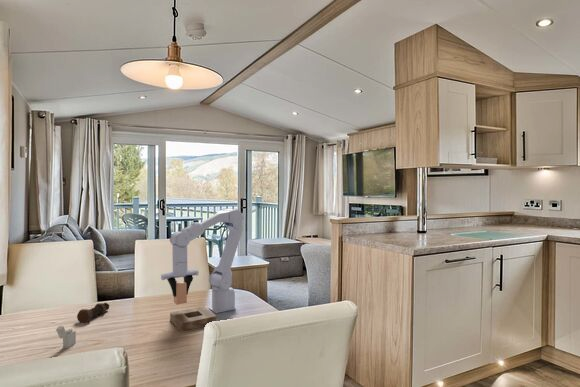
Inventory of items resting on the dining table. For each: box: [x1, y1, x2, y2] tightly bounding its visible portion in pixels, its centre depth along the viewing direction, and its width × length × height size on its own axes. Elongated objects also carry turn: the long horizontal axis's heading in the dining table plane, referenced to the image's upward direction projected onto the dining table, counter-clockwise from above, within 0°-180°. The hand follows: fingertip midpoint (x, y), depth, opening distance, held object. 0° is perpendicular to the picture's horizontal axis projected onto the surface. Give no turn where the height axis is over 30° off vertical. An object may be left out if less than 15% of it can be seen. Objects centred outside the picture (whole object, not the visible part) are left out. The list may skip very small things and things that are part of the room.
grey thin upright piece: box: [55, 325, 77, 349], centre depth 123 cm, size 7×2×8 cm, turn 173°
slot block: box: [169, 306, 218, 332], centre depth 146 cm, size 14×14×3 cm
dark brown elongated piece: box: [76, 302, 110, 324], centre depth 153 cm, size 6×5×15 cm
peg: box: [173, 280, 188, 305], centre depth 149 cm, size 4×4×8 cm
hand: (180, 295), depth 149 cm, fingers closed on peg, 4 cm apart
